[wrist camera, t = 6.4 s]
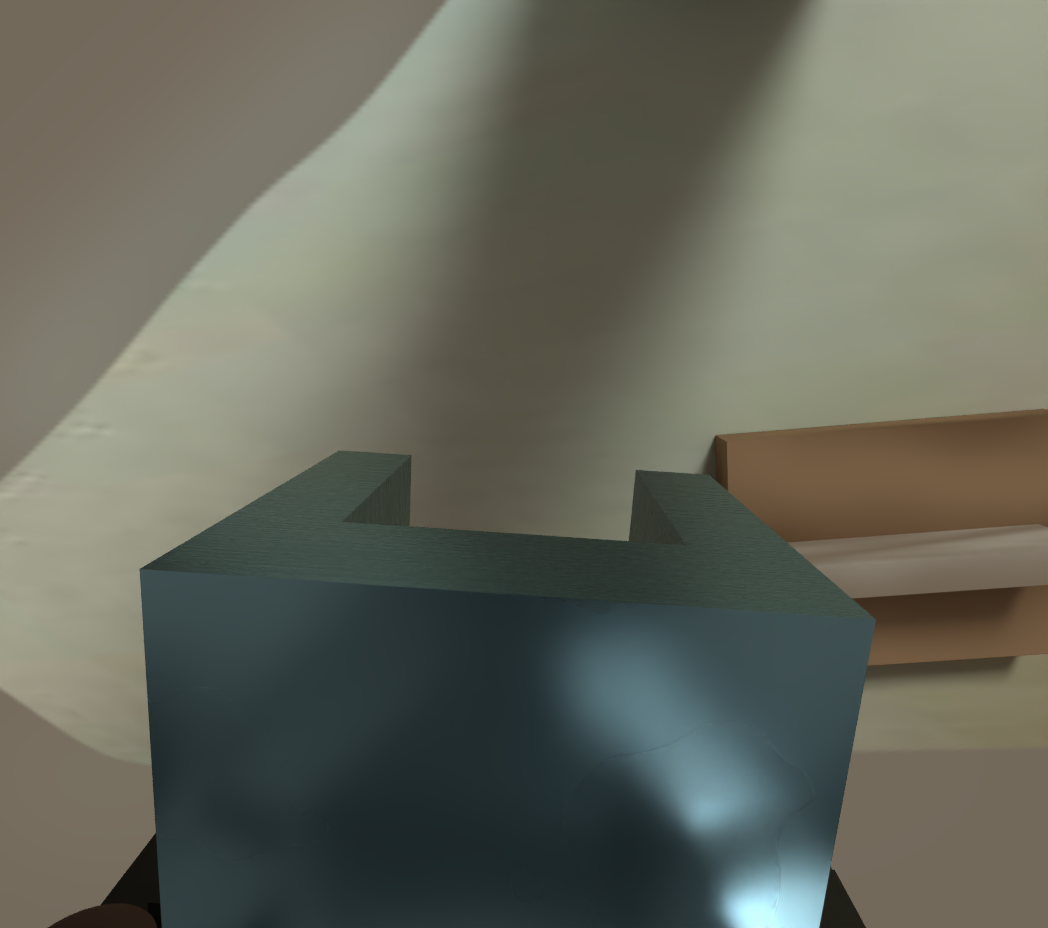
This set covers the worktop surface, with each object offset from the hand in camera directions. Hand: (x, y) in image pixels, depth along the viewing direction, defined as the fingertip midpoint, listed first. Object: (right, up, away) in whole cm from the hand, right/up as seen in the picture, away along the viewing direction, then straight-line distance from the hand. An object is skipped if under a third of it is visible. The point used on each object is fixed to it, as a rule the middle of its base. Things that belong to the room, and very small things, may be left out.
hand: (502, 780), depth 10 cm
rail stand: (+14, +2, +15) cm, 20 cm away
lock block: (0, 0, +1) cm, 1 cm away
